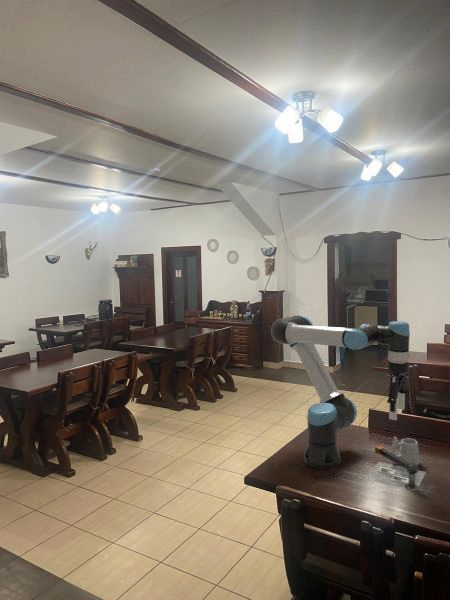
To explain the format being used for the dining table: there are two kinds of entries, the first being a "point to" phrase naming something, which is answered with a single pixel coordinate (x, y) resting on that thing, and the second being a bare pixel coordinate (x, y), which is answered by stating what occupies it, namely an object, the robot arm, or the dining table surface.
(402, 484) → the plate
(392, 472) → the label left
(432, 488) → the dining table surface
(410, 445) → the mug
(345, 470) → the dining table surface
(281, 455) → the dining table surface
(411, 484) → the grey metal knob
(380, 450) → the grey lever orange grip
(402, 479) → the label right
